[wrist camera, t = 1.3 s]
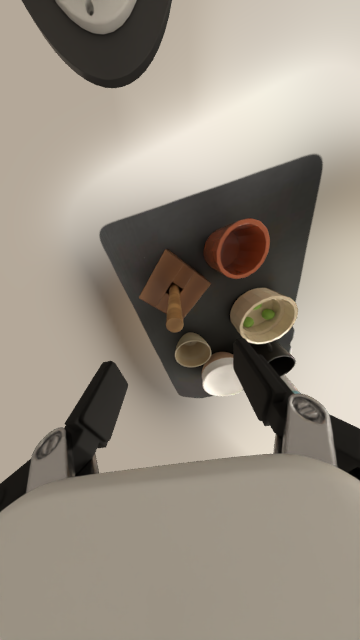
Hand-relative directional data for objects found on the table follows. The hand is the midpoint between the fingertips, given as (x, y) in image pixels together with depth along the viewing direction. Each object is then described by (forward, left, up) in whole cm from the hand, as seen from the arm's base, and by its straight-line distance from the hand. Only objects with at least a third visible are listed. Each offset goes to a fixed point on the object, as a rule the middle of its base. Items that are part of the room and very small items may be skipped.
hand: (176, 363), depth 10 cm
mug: (+35, -1, -25) cm, 43 cm away
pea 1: (+23, +3, -23) cm, 32 cm away
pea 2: (+26, +8, -23) cm, 35 cm away
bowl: (+30, -15, -25) cm, 42 cm away
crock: (+5, +12, -25) cm, 28 cm away
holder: (0, 0, -25) cm, 25 cm away
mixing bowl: (+23, +6, -25) cm, 35 cm away
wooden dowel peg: (0, 0, -25) cm, 25 cm away
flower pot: (+14, -12, -25) cm, 31 cm away
